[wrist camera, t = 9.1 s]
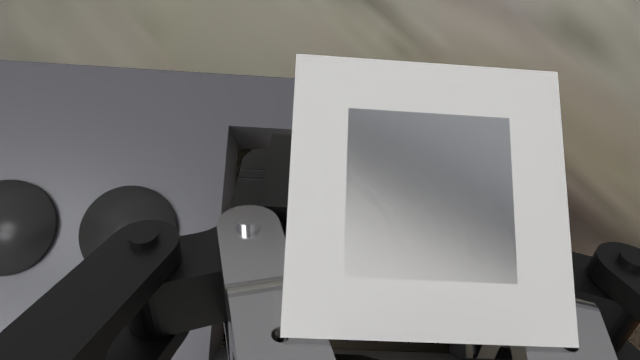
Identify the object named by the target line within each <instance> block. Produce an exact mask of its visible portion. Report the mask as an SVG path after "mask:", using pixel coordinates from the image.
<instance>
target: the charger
mask: <svg viewBox="0 0 640 360" xmlns="http://www.w3.org/2000/svg"><path fill="white" fill-rule="evenodd" d="M280 338H309V339H338V340H366V341H395V342H424V343H453V344H481V345H510V346H539V347H568V348H579V341H578V328H577V315H576V302H575V290H574V277H573V264H572V251H571V238H570V225H569V212H568V200H567V187H566V174H565V161H564V148H563V135H562V123H561V110H560V97H559V84H558V72H551V71H537V70H523V69H508V68H494V67H480V66H465V65H451V64H437V63H422V62H408V61H394V60H379V59H365V58H351V57H336V56H322V55H308V54H296V69H295V87H294V104H293V121H292V139H291V156H290V174H289V191H288V208H287V226H286V243H285V260H284V278H283V295H282V312H281V330H280Z"/></svg>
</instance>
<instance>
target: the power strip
mask: <svg viewBox="0 0 640 360" xmlns="http://www.w3.org/2000/svg"><path fill="white" fill-rule="evenodd" d="M294 87H295V78H280V77H264V76H248V75H232V74H216V73H200V72H184V71H168V70H152V69H136V68H119V67H103V66H87V65H71V64H55V63H39V62H23V61H7V60H0V332H1V331H2V330H4V329H5V328H6V327H7V326H8V325H9V324H11V323H12V322H13V321H14V320H15V319H16V318H17V317H19V316H20V315H21V314H22V313H23V312H24V311H25V310H27V309H28V308H29V307H30V306H31V305H32V304H33V303H35V302H36V301H37V300H38V299H39V298H40V297H42V296H43V295H44V294H45V293H46V292H47V291H48V290H50V289H51V288H52V287H53V286H54V285H55V284H56V283H58V282H59V281H60V280H61V279H62V278H63V277H65V276H66V275H67V274H68V273H69V272H70V271H71V270H73V269H74V268H75V267H76V266H77V265H78V264H79V263H81V262H82V261H83V260H84V259H85V258H86V257H87V256H89V255H90V254H91V253H92V252H93V251H94V250H96V249H97V248H98V247H99V246H100V245H101V244H102V243H104V242H105V241H106V240H107V239H108V238H109V237H110V236H112V235H113V234H114V233H115V232H116V231H118V230H119V229H120V228H122V227H124V226H126V225H128V224H131V223H134V222H137V221H142V220H160V221H165V222H167V223H170V224H171V225H173V226H174V227H175V228H176V229H177V230H178V233H179V236H182V235H188V234H194V233H199V232H203V231H206V230H209V229H211V228H214V227H216V226H217V221H218V219H219V217H220V216H221V215H222V214H223V213H224V212H226V211H227V210H229V209H230V206H231V202H232V198H233V194H234V191H235V187H236V174H237V162H238V149H266V150H269V149H270V143H271V137H272V133H283V134H292V121H293V104H294ZM223 335H224V322H223V323H219V324H215V325H211V326H207V327H203V328H199V329H195V330H190V331H189V333H188V335H187V337H186V339H185V340H184V341H183V343H182V344H181V346H180V347H179V348H178V350H177V351H176V353H175V354H174V356H173V357H172V358H171V360H228V354H227V346H223ZM332 350H333V353H334V354H353V355H364V356H368V357H372V358H375V359H379V360H460V359H465V358H466V344H453V343H449V353H430V352H398V351H367V350H335V349H332Z"/></svg>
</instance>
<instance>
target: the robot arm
mask: <svg viewBox="0 0 640 360" xmlns="http://www.w3.org/2000/svg"><path fill="white" fill-rule="evenodd" d="M291 139H292V134H283V133H272V137H271V143H270V149H269V150H266V149H252V150H251V151H250V152H249V153H248V154H246V155H245V156H244V157H243V159H242V163H241V167H240V171H239V175H238V179H237V183H236V187H235V191H234V194H233V198H232V202H231V206H230V209H229V210H227V211H226V212H224V213H223V214H222V215H221V216H220V217H219V219H218V221H217V226H216V227H214V228H211V229H209V230H206V231H203V232H199V233H194V234H188V235H182V236H179V233H178V230H177V229H176V228H175V227H174V226H173V225H171V224H170V223H167V222H165V221H160V220H142V221H137V222H134V223H131V224H128V225H126V226H124V227H122V228H120V229H119V230H118V231H116V232H115V233H114V234H113V235H112V236H110V237H109V238H108V239H107V240H106V241H105V242H104V243H102V244H101V245H100V246H99V247H98V248H97V249H96V250H94V251H93V252H92V253H91V254H90V255H89V256H87V257H86V258H85V259H84V260H83V261H82V262H81V263H79V264H78V265H77V266H76V267H75V268H74V269H73V270H71V271H70V272H69V273H68V274H67V275H66V276H65V277H63V278H62V279H61V280H60V281H59V282H58V283H56V284H55V285H54V286H53V287H52V288H51V289H50V290H48V291H47V292H46V293H45V294H44V295H43V296H42V297H40V298H39V299H38V300H37V301H36V302H35V303H33V304H32V305H31V306H30V307H29V308H28V309H27V310H25V311H24V312H23V313H22V314H21V315H20V316H19V317H17V318H16V319H15V320H14V321H13V322H12V323H11V324H9V325H8V326H7V327H6V328H5V329H4V330H2V331H1V332H0V360H171V358H172V357H173V356H174V354H175V353H176V351H177V350H178V348H179V347H180V346H181V344H182V343H183V341H184V340H185V339H186V337H187V335H188V333H189V331H190V330H195V329H199V328H203V327H207V326H211V325H215V324H219V323H223V322H224V329H225V337H226V346H227V354H228V360H379V359H375V358H372V357H368V356H364V355H353V354H334V353H333V350H332V347H331V344H330V341H329V339H309V338H280V330H281V312H282V295H283V278H284V260H285V243H286V226H287V208H288V191H289V174H290V156H291ZM572 264H573V277H574V290H575V302H576V315H577V328H578V341H579V348H568V347H539V346H510V345H481V344H466V358H465V359H460V360H640V351H639V350H638V349H637V348H636V347H635V346H634V345H632V344H631V343H630V342H629V341H628V338H629V337H630V336H631V334H632V333H633V331H634V330H635V328H636V327H637V326H638V324H639V323H640V249H638V248H636V247H633V246H630V245H627V244H623V243H617V242H607V243H603V244H601V245H599V246H598V248H597V249H596V251H595V253H594V255H593V257H591V256H587V255H583V254H579V253H575V252H572Z"/></svg>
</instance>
